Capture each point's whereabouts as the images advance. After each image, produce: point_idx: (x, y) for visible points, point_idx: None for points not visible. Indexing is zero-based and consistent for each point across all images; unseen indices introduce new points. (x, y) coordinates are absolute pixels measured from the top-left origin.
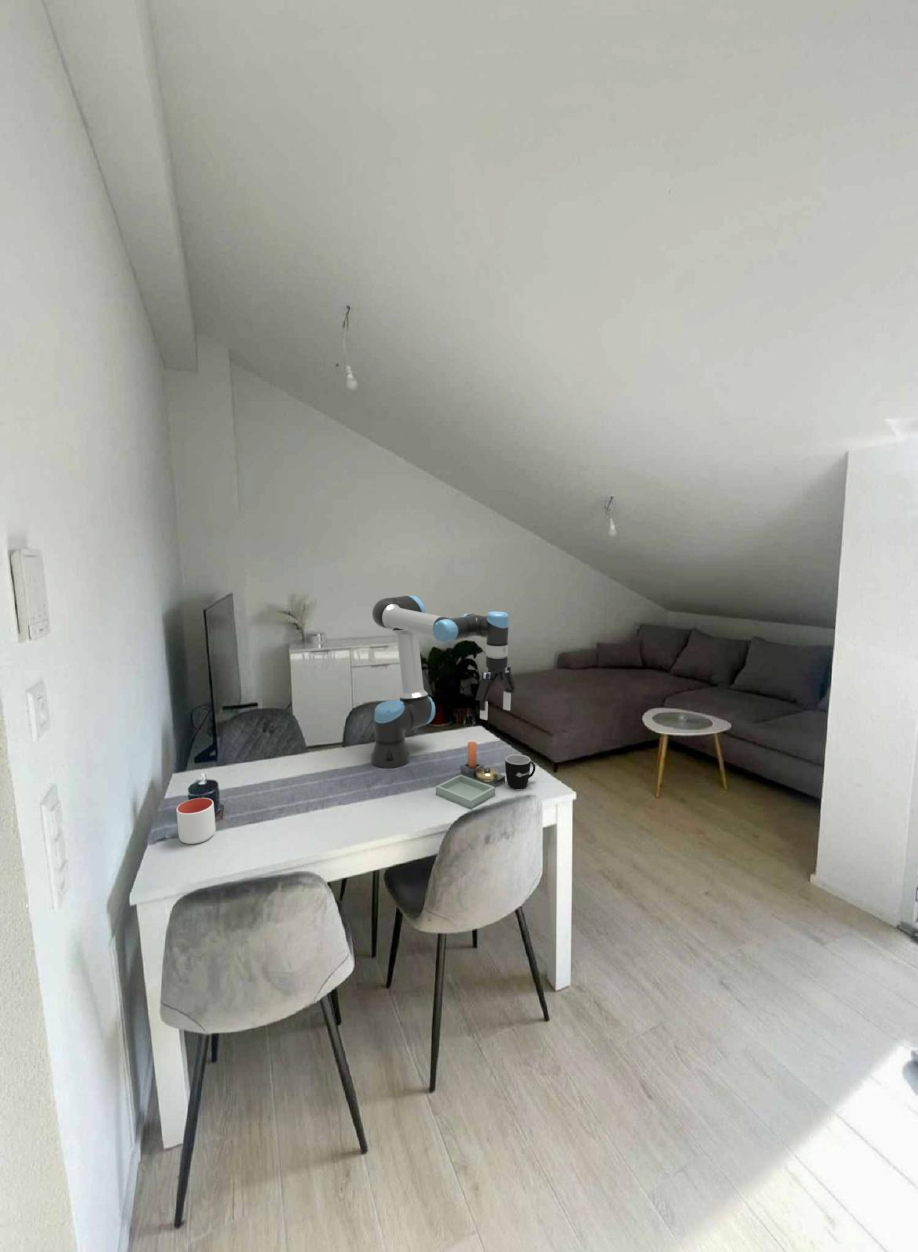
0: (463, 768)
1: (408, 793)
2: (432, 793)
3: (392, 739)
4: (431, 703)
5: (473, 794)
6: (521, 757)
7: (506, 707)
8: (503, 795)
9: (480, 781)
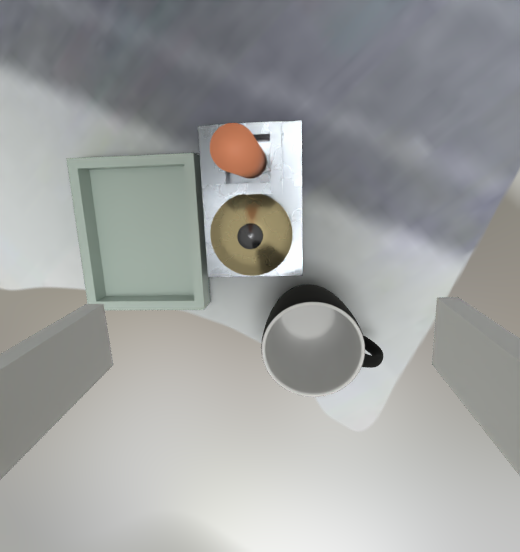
0: None
1: (22, 85)
2: (80, 146)
3: None
4: None
5: (156, 259)
6: (357, 334)
7: (443, 346)
8: (228, 318)
9: (210, 239)
